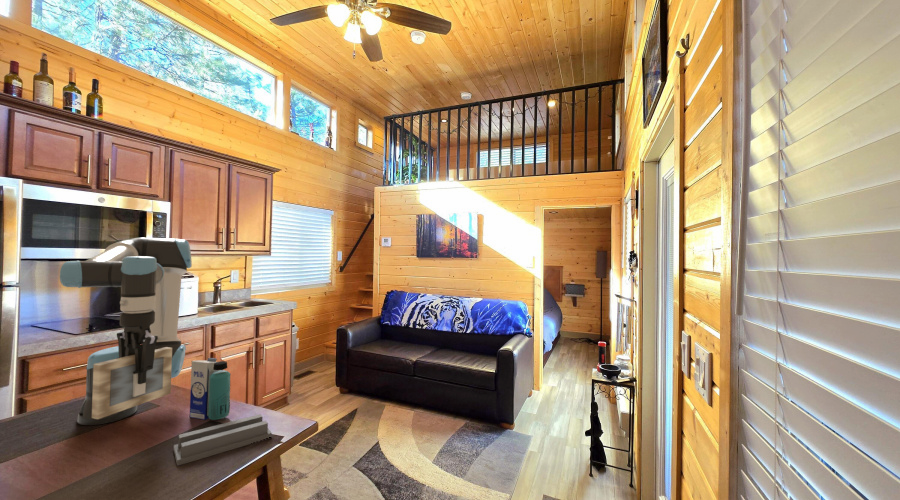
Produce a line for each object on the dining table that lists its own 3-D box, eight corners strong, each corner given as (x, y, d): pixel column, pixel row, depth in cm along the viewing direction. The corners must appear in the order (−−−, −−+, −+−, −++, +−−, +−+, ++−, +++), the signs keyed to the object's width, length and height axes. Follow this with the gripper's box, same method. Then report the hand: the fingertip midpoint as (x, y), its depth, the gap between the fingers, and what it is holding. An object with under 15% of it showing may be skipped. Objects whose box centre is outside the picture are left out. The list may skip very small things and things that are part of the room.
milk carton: (189, 417, 126) (191, 360, 126) (206, 409, 132) (208, 355, 133) (205, 420, 124) (207, 362, 124) (222, 411, 131) (224, 357, 131)
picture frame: (165, 392, 111) (166, 346, 111) (171, 393, 110) (172, 347, 110) (91, 417, 93) (93, 364, 93) (98, 419, 93) (100, 365, 93)
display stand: (262, 425, 122) (263, 412, 122) (271, 437, 114) (272, 423, 114) (173, 450, 105) (174, 434, 106) (177, 465, 98) (177, 449, 98)
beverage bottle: (218, 425, 121) (221, 365, 121) (202, 423, 122) (204, 364, 122) (234, 416, 127) (236, 360, 127) (218, 414, 129) (220, 358, 129)
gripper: (103, 310, 100) (100, 394, 100) (142, 315, 96) (139, 403, 96) (134, 306, 108) (131, 385, 108) (171, 311, 103) (168, 393, 103)
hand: (134, 393), depth 102 cm, fingers closed on picture frame, 3 cm apart
